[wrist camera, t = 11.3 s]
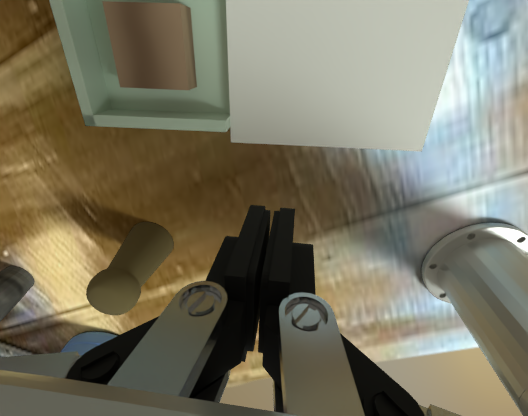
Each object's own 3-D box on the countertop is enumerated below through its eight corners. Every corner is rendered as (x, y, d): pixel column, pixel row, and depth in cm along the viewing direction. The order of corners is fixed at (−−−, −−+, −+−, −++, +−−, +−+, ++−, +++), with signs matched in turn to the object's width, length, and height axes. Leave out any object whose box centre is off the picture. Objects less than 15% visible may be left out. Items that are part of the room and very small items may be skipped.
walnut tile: (190, 7, 23) (179, 3, 21) (196, 87, 26) (188, 90, 24) (119, 5, 23) (102, 1, 21) (134, 84, 26) (120, 87, 24)
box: (231, -29, 23) (218, -48, 19) (235, 119, 29) (226, 132, 25) (81, -31, 24) (35, -49, 19) (115, 114, 30) (85, 125, 25)
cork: (170, 223, 36) (127, 285, 27) (176, 259, 39) (139, 326, 30) (125, 219, 37) (67, 279, 27) (134, 255, 40) (84, 321, 30)
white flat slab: (465, -53, 21) (489, -67, 19) (409, 142, 29) (421, 151, 26) (231, -53, 22) (223, -67, 20) (236, 134, 30) (231, 142, 27)
